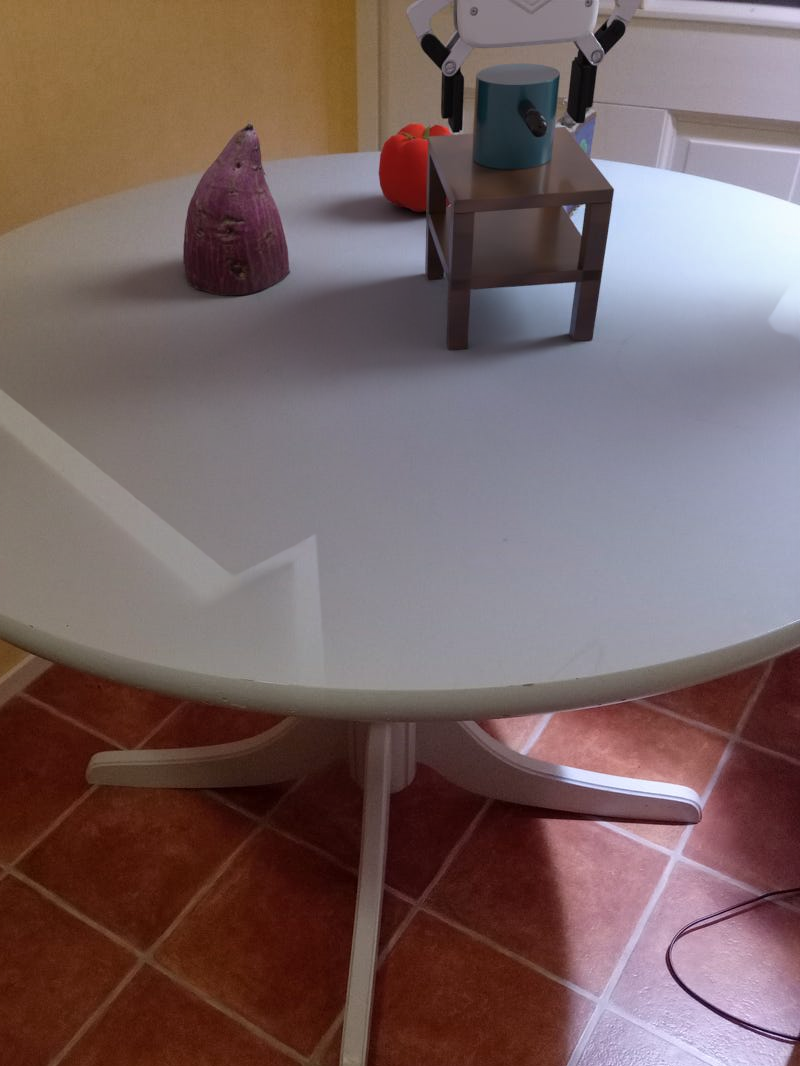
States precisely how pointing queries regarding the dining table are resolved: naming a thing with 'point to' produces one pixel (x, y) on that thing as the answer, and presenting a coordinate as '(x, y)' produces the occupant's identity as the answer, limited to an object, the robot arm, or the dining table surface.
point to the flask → (579, 136)
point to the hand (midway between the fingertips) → (515, 123)
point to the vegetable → (235, 224)
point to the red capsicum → (407, 166)
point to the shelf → (515, 227)
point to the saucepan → (515, 115)
